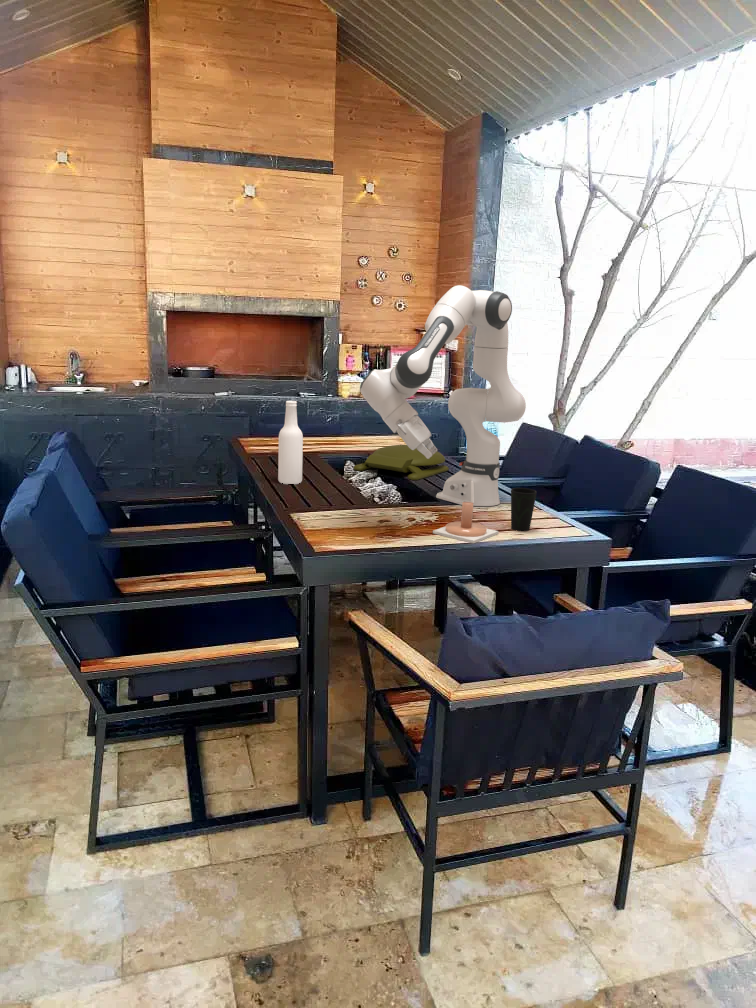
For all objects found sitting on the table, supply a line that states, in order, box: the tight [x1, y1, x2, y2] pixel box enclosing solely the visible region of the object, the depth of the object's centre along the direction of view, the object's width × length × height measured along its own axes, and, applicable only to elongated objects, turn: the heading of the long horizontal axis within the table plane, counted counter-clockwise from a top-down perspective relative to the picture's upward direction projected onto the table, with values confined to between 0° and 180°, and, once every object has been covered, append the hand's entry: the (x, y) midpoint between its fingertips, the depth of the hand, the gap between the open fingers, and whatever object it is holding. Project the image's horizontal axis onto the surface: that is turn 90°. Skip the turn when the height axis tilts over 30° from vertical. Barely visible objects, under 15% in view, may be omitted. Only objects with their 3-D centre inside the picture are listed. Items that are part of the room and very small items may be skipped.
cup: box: [510, 487, 537, 532], centre depth 231 cm, size 8×8×12 cm
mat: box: [432, 525, 499, 544], centre depth 224 cm, size 14×14×1 cm
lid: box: [445, 502, 488, 537], centre depth 223 cm, size 12×12×8 cm
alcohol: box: [277, 400, 304, 485], centre depth 278 cm, size 9×9×30 cm
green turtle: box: [352, 444, 450, 481], centre depth 315 cm, size 35×31×10 cm
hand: (433, 454), depth 221 cm, fingers open, 8 cm apart
